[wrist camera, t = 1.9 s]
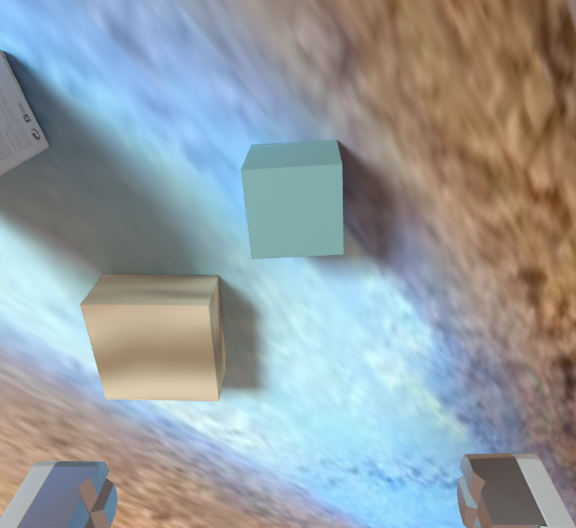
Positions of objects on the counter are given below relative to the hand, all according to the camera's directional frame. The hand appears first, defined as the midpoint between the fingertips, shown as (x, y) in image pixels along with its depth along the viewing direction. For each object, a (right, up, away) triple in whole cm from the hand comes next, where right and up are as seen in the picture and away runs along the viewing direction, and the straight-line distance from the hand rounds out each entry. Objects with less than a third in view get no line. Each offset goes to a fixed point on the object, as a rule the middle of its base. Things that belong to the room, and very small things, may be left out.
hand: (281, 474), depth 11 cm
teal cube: (+1, +10, +18) cm, 20 cm away
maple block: (-9, +1, +23) cm, 25 cm away
